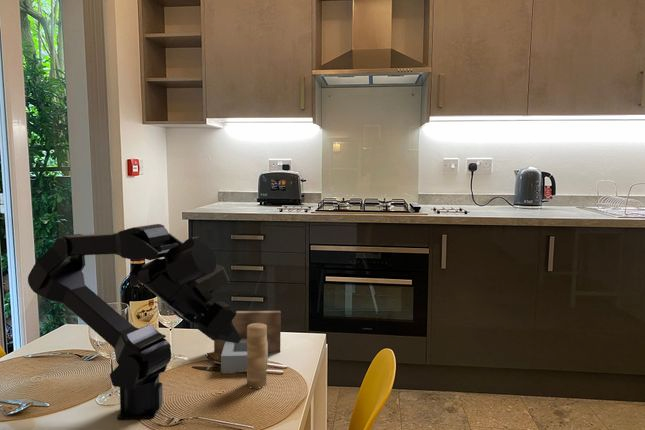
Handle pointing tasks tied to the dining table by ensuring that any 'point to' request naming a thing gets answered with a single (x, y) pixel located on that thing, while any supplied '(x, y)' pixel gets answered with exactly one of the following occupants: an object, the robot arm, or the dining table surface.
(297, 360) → the dining table surface
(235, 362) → the socket block
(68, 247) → the robot arm
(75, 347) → the dining table surface
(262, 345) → the dowel
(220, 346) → the backstop board
